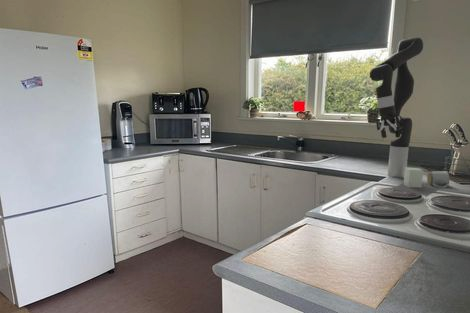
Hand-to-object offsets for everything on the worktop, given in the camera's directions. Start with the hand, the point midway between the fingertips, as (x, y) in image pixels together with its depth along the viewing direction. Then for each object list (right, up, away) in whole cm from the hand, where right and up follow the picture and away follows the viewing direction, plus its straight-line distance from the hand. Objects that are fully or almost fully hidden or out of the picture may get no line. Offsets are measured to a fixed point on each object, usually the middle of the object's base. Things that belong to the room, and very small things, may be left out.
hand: (391, 137), depth 166 cm
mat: (+6, -25, -11) cm, 28 cm away
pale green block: (+8, -24, -6) cm, 26 cm away
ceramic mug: (+22, -25, -3) cm, 34 cm away
